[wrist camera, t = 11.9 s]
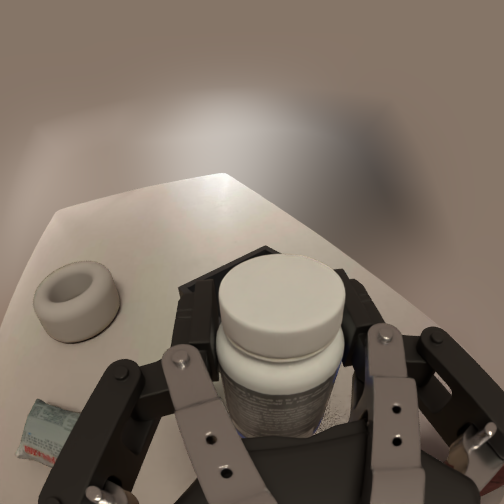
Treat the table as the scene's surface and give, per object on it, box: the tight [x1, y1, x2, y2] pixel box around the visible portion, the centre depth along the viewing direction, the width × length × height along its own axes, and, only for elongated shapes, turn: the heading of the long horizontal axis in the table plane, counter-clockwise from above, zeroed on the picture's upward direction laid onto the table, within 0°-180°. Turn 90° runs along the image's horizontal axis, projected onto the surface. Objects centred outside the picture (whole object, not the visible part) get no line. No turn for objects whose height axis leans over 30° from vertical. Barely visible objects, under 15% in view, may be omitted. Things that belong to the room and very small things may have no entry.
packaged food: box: [15, 399, 80, 467], centre depth 20 cm, size 9×12×5 cm
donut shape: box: [33, 261, 119, 343], centre depth 40 cm, size 15×15×7 cm
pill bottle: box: [216, 254, 345, 438], centre depth 11 cm, size 5×5×8 cm
